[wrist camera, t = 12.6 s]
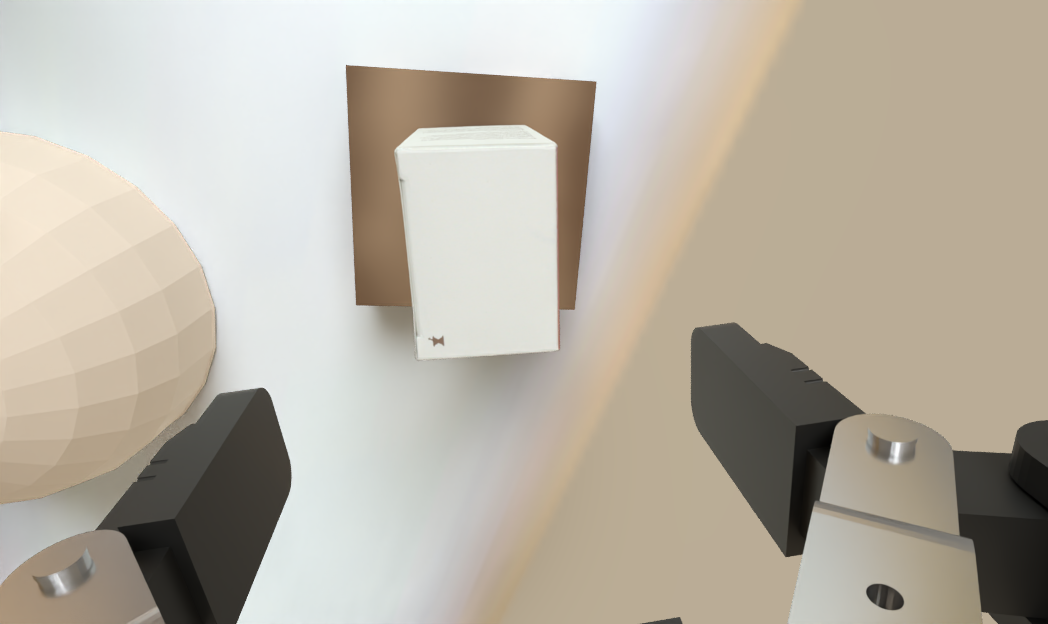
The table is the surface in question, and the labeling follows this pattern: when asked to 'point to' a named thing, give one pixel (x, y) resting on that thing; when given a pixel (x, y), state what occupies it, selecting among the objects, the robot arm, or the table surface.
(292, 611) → the table surface
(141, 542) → the robot arm
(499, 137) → the small box
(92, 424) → the kettle
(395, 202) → the walnut block
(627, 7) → the table surface
